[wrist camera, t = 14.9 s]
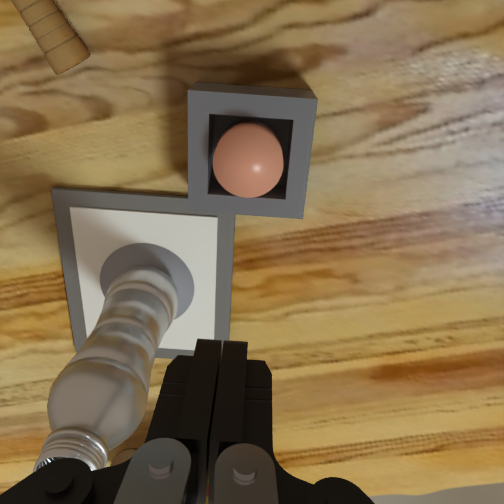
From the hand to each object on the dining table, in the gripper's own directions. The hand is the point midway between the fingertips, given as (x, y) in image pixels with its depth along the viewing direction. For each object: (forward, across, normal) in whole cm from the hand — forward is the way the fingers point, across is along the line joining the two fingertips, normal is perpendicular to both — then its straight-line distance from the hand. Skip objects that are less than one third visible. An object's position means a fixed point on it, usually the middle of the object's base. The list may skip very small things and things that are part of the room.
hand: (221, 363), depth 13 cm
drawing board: (+27, +9, +14) cm, 31 cm away
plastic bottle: (+26, +9, +14) cm, 31 cm away
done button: (+24, 0, 0) cm, 24 cm away
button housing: (+27, 0, 0) cm, 27 cm away
